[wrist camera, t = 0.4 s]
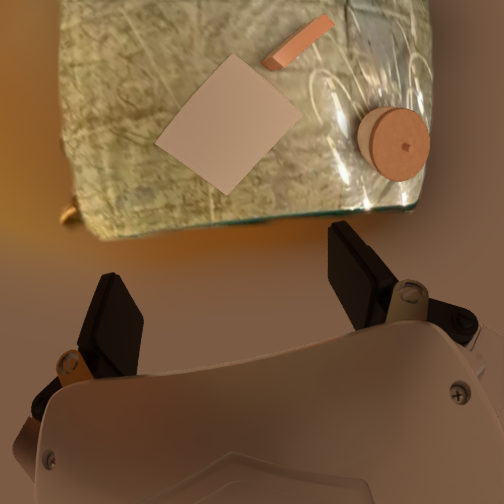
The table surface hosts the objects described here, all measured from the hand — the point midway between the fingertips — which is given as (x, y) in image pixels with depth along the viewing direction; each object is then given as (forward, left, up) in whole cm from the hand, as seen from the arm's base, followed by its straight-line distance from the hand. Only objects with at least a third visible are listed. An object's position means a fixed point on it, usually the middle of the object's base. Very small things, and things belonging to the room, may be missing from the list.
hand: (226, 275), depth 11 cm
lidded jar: (-18, +17, -29) cm, 38 cm away
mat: (-3, 0, -28) cm, 29 cm away
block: (-17, -2, -29) cm, 33 cm away
